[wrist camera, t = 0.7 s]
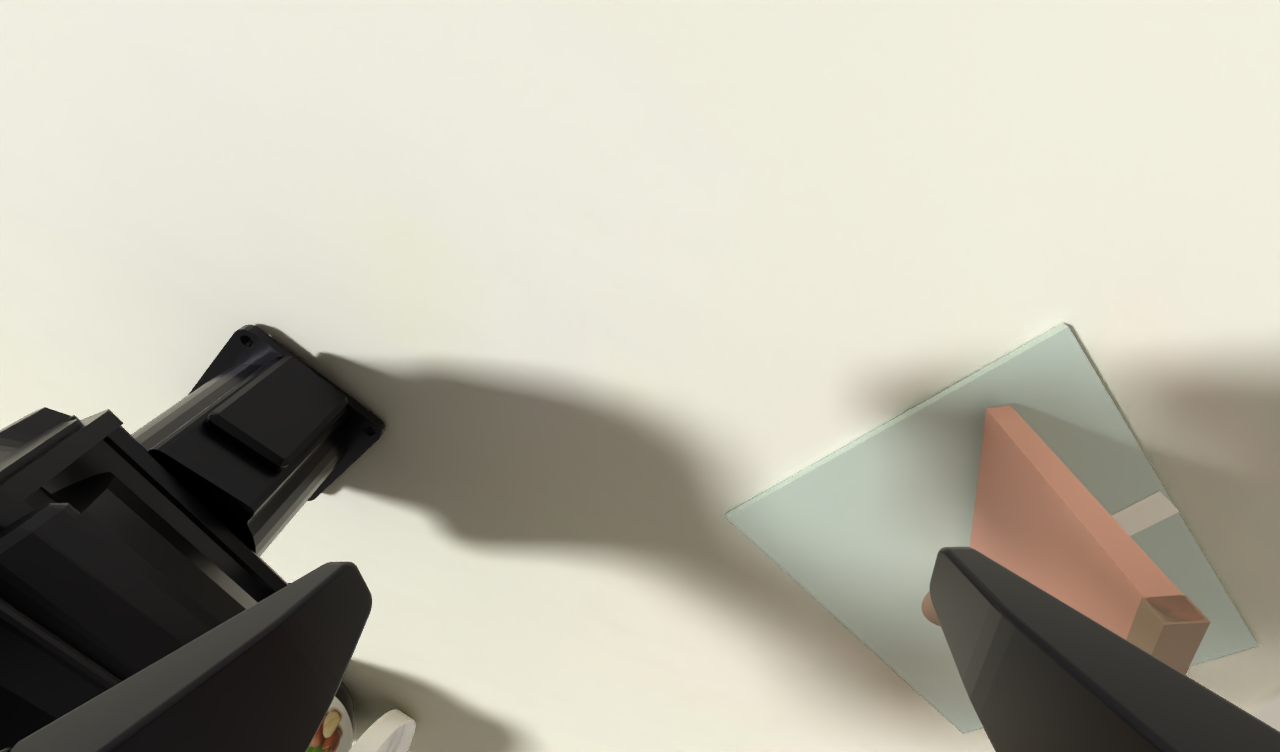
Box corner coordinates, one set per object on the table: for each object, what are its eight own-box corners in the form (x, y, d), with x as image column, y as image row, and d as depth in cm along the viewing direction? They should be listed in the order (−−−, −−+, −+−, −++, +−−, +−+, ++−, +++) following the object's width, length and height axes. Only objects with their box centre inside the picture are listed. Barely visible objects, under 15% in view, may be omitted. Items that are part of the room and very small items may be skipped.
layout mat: (960, 728, 31) (963, 734, 31) (726, 513, 24) (726, 519, 24) (1253, 639, 26) (1260, 646, 25) (1063, 322, 18) (1070, 326, 18)
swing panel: (990, 620, 26) (1118, 861, 18) (945, 623, 26) (1052, 861, 18) (1026, 399, 19) (1246, 626, 12) (965, 407, 20) (1141, 632, 12)
